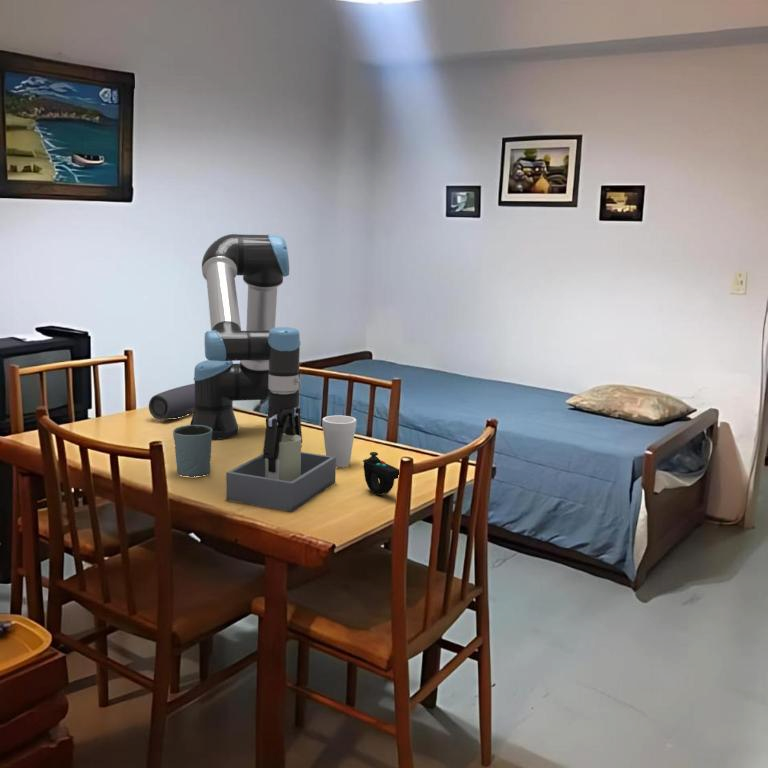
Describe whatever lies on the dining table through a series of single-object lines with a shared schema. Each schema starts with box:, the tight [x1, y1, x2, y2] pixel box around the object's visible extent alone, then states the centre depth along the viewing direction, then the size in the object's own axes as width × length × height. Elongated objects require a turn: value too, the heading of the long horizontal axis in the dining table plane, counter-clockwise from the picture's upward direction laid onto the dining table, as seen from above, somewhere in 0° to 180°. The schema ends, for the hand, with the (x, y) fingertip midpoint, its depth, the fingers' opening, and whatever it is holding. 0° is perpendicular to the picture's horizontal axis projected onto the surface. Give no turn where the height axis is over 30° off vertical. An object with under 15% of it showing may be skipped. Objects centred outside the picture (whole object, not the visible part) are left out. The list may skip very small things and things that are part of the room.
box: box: [225, 451, 337, 513], centre depth 206 cm, size 24×18×7 cm
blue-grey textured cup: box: [172, 424, 213, 477], centre depth 217 cm, size 10×10×12 cm
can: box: [265, 433, 303, 482], centre depth 205 cm, size 9×9×12 cm
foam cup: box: [321, 414, 357, 468], centre depth 229 cm, size 10×9×13 cm
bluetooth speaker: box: [148, 383, 195, 420], centre depth 277 cm, size 23×9×10 cm, turn 157°
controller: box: [362, 451, 400, 496], centre depth 206 cm, size 4×12×10 cm, turn 37°
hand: (282, 478), depth 206 cm, fingers closed on can, 9 cm apart
